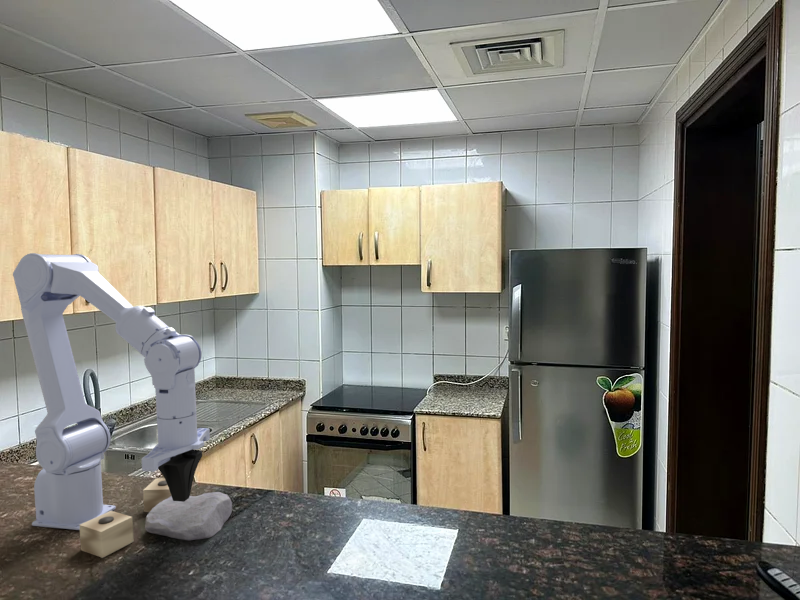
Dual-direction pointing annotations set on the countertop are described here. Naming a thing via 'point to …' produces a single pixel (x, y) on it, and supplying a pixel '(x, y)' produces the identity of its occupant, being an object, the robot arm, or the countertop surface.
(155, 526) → the stone block
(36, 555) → the countertop surface
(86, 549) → the beech block
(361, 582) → the countertop surface
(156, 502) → the beech block
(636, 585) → the countertop surface
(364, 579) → the countertop surface
